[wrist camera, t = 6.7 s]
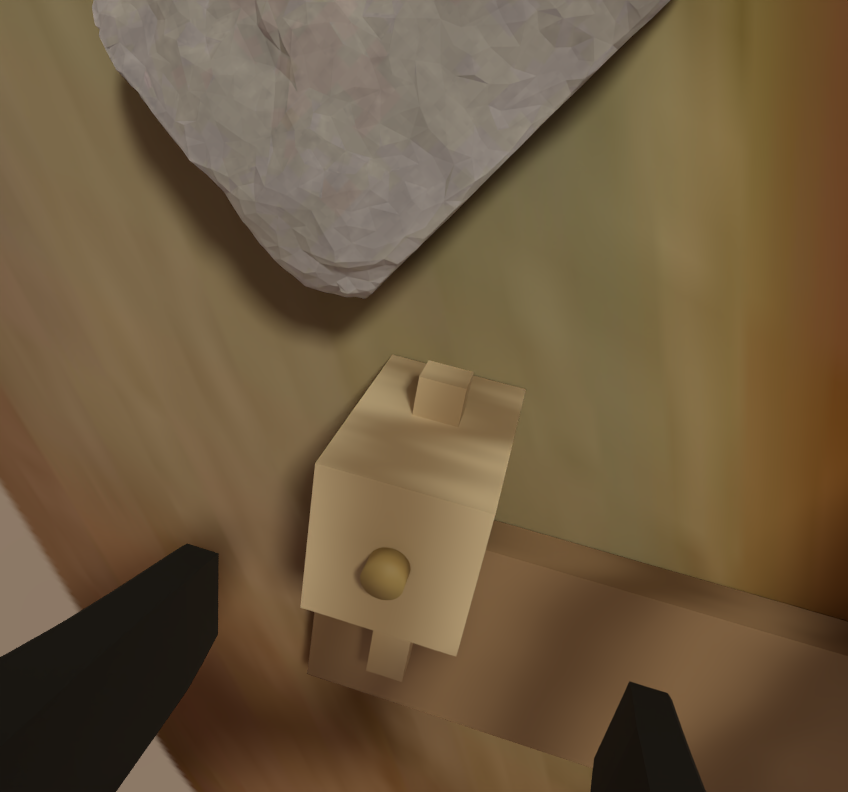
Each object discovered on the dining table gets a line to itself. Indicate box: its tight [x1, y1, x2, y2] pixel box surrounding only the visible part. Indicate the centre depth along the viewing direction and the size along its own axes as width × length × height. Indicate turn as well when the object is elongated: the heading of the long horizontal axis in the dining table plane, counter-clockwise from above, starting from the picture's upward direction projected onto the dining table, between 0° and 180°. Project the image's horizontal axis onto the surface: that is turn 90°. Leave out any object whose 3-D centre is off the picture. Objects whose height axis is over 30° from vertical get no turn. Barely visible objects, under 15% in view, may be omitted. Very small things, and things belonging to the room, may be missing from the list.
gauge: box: [301, 355, 526, 682], centre depth 19 cm, size 4×11×7 cm, turn 171°
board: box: [307, 520, 848, 792], centre depth 22 cm, size 18×8×2 cm, turn 81°
